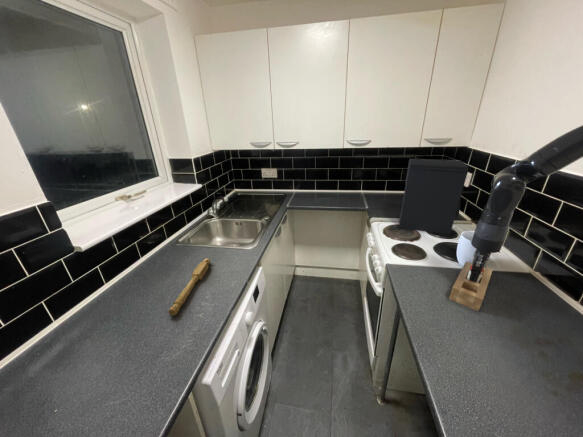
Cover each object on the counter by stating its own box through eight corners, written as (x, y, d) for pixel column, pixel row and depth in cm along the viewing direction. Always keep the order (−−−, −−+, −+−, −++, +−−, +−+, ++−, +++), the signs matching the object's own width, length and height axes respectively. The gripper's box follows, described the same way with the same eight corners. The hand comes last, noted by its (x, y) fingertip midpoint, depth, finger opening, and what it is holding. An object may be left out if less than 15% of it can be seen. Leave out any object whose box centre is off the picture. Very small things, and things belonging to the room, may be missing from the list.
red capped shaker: (477, 287, 81) (484, 266, 78) (475, 292, 79) (483, 270, 76) (465, 282, 84) (472, 262, 80) (463, 287, 82) (470, 266, 78)
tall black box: (452, 221, 132) (470, 159, 118) (459, 236, 116) (480, 167, 102) (399, 214, 143) (409, 157, 129) (399, 228, 127) (410, 164, 112)
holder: (488, 280, 86) (492, 269, 84) (478, 311, 73) (483, 299, 71) (462, 271, 91) (466, 261, 89) (448, 298, 78) (452, 287, 76)
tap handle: (166, 309, 75) (203, 257, 102) (169, 316, 76) (205, 262, 103) (175, 309, 74) (210, 257, 102) (177, 316, 76) (211, 262, 103)
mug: (464, 251, 104) (473, 225, 98) (494, 263, 95) (505, 235, 90) (447, 262, 96) (455, 235, 91) (477, 276, 88) (488, 247, 83)
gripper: (502, 247, 66) (483, 293, 73) (507, 230, 75) (490, 273, 82) (470, 239, 71) (456, 283, 78) (478, 223, 80) (465, 264, 87)
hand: (473, 277), depth 80 cm, fingers closed on red capped shaker, 3 cm apart
